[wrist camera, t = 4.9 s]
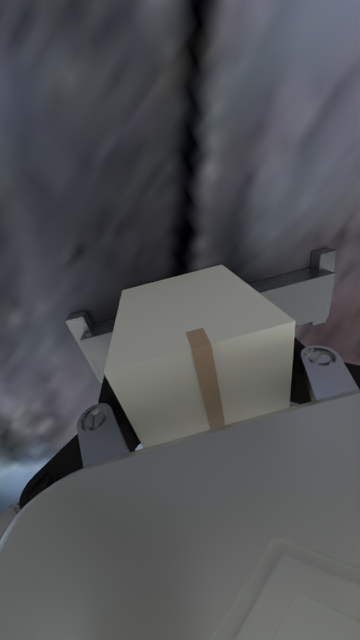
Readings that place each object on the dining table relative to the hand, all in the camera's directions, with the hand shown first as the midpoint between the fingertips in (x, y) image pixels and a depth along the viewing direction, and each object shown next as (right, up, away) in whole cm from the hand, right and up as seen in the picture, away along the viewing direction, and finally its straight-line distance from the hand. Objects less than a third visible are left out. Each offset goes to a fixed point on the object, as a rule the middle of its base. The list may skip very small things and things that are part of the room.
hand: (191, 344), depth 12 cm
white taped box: (0, +1, +2) cm, 3 cm away
